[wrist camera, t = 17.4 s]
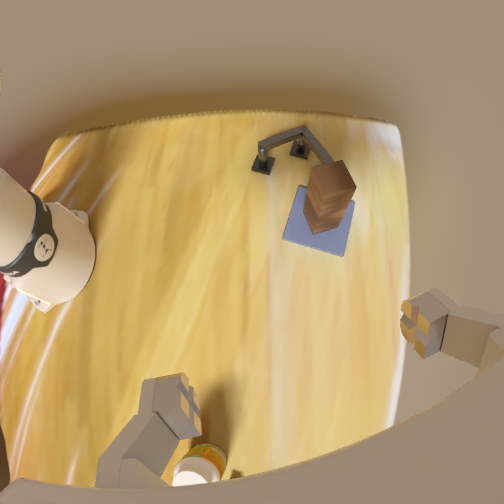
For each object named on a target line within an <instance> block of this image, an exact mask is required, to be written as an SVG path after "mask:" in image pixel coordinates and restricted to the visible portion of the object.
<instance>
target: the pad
mask: <svg viewBox="0 0 504 504" xmlns="http://www.w3.org/2000/svg"><path fill="white" fill-rule="evenodd" d="M306 194H307V188H304V187H300V186H299V187H298V190H297V194H296V197H295V200H294V203H293V206H292V210H291V213H290V216H289V219H288V222H287V225H286V229H285V232H284V235H283V239H284V240H287V241H290V242H294V243H297V244H301V245H304V246H307V247H311V248H314V249H317V250H321V251H324V252H328V253H331V254H334V255H337V256H341V257H343V256H344V252H345V248H346V243H347V239H348V234H349V229H350V225H351V220H352V215H353V210H354V205H355V202H351V201H350V203H349V205H348V207H347V209H346V211H345V214H344V216H343V218H342V220H341V222H340V224H339V226H338V228H335V229H331V230H328V231H325V232H321V233H318V234H314V235H312V232H311V230H310V227H309V225H308V222H307V220H306V217H305V215H304V213H303V208H304V204H305V199H306Z"/></svg>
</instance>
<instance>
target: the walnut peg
mask: <svg viewBox="0 0 504 504" xmlns="http://www.w3.org/2000/svg"><path fill="white" fill-rule="evenodd" d="M356 188H357V187H356V185H355V183H354V181H353V179H352V177H351V175H350V173H349V172H348V170H347V168H346V166H345V164H344V162H343V161H342V160H340V161H336V162H331V163H327V164H322V165H318V166H314V167H312V169H311V174H310V179H309V184H308V189H307V194H306V199H305V204H304V208H303V213H304V215H305V217H306V220H307V222H308V225H309V227H310V230H311V232H312V235H314V234H318V233H321V232H325V231H328V230H331V229H335V228H338V226H339V224H340V222H341V220H342V218H343V216H344V214H345V211H346V209H347V207H348V205H349V203H350V201H351V199H352V196H353V194H354V192H355V190H356Z"/></svg>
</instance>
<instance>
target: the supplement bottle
mask: <svg viewBox="0 0 504 504" xmlns="http://www.w3.org/2000/svg"><path fill="white" fill-rule="evenodd" d="M226 466H227V459H226V456H225V454H224V453H223V452H222V450H221V449H219V448H218V447H216V446H214V445H211V444H199V445H196V446H194V447H193V448H192V449H190V451H189V452H188V453H187V454H186V455H185V456H184V457H183V458H182V459H181V460H180V461H179V462H178V463H177V465H176V466H175V468H174V478H173V487H174V486H185V485H194V484H202V483H209V482H216V481H221V478H222V476H223V474H224V471H225V469H226Z"/></svg>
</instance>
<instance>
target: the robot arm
mask: <svg viewBox="0 0 504 504" xmlns="http://www.w3.org/2000/svg"><path fill="white" fill-rule="evenodd" d="M0 93H1V71H0ZM94 261H95V244H94V240H93V237H92V235H91V233H90V230H89V219H88V214H87V213H85V212H84V211H78V210H68V209H67V208H65V207H64V206H63V205H61V204H60V203H59V202H55V203H53V202H47V203H45V202H44V201H43V200H42V199H41V198H40V197H39V196H37V195H36V194H34V193H32V192H31V191H26V190H25V189H24V188H22V187H21V186H20V185H19V184H18V183H17V182H16V181H15V180H14V179H12V177H10V176H9V175H8V174H7V173H6V172H5V171H4V170H3V169H2V168H0V272H1V273H3V274H5V275H4V279H5V280H6V281H7V282H9V283H10V284H11V285H12V287H14V288H15V289H17V290H18V291H20V292H22V293H24V294H25V295H26V296H27V297H28V298H29V299H30V300H31V302H32V303H33V304H34V305H35V306H36V307H37V308H38V310H40V311H41V312H43V313H46V312H48V311H49V310H51V309H52V308H53V307H54V306H55V305H57V304H59V303H63V302H66V301H68V300H70V299H72V298H73V297H75V296H76V295H77V294H78V293H79V292H80V291H81V290H82V289H83V287H84V286H85V284H86V283H87V281H88V279H89V277H90V275H91V272H92V270H93V266H94ZM40 301H41V302H40ZM401 311H402V312H403V313H404V314H403V316H402V318H401V319H400V327H401V331H402V334H403V336H404V337H405V339H406V340H407V341H408V342H411V343H414V349H415V350H416V352H417V353H418V354H419V355H420V356H421V357H422V359H425V358H427V357H429V356H431V355H433V354H435V353H437V352H438V351H440V350H441V351H440V352H443V353H445V354H448V355H450V356H452V357H454V358H457V359H459V360H461V361H464V362H466V363H468V364H471V365H473V366H475V367H478V369H477V371H476V374H475V376H474V379H472V380H471V381H469V382H468V383H467V384H465V385H463V386H462V387H461V388H459V389H457V390H456V391H454V392H453V393H451V394H450V395H448V396H446V397H445V398H443V399H441V400H440V401H438V402H437V403H435V404H433V405H431V406H430V407H428V408H426V409H424V410H422V411H421V412H419V413H417V414H415V415H413V416H411V417H410V418H408V419H406V420H404V421H402V422H400V423H398V424H396V425H394V426H392V427H390V428H388V429H385V430H383V431H381V432H379V433H377V434H374V435H372V436H370V437H368V438H365V439H363V440H361V441H358V442H356V443H353V444H351V445H348V446H346V447H343V448H341V449H338V450H335V451H333V452H330V453H327V454H324V455H321V456H318V457H315V458H312V459H309V460H306V461H303V462H299V463H296V464H293V465H289V466H286V467H282V468H278V469H274V470H270V471H266V472H262V473H258V474H253V475H249V476H244V477H239V478H234V479H228V480H222V481H216V482H209V483H202V484H194V485H185V486H174V487H171V486H170V485H168V484H167V483H166V482H164V481H163V480H162V479H161V478H160V477H161V475H162V473H163V471H164V470H165V468H166V466H167V464H168V462H169V460H170V459H171V457H172V455H173V453H174V451H175V449H176V448H177V446H178V444H179V442H180V441H179V440H182V439H188V438H193V437H198V436H202V431H201V420H200V419H199V417H198V416H197V415H198V414H199V412H200V404H199V400H198V396H197V394H196V391H195V390H194V388H193V387H191V386H189V381H188V378H187V376H186V375H185V373H178V374H173V375H168V376H162V377H157V378H153V379H146V380H144V381H143V383H142V388H141V395H140V402H139V410H138V415H134V416H133V418H132V419H131V420H130V421H129V422H128V424H127V425H126V426H125V427H124V429H123V430H122V431H121V432H120V433H119V435H118V436H117V437H116V438H115V440H114V441H113V442H112V443H111V444H110V446H109V447H108V448H107V449H106V450H105V452H104V453H103V454H102V455H101V456H100V458H99V461H98V467H97V474H96V481H95V487H83V486H73V485H64V484H56V483H50V482H43V481H38V480H32V479H28V478H17V479H15V480H14V481H13V482H11V483H10V484H9V485H8V486H7V487H6V488H5V489H4V490H3V491H2V492H1V493H0V504H504V315H502V314H497V313H493V312H489V311H484V310H480V309H475V308H471V307H467V306H462V307H460V306H459V305H457V304H456V303H455V302H454V301H453V300H451V299H450V298H449V297H448V296H446V295H445V294H444V293H443V292H442V291H440V290H439V289H438V288H436V287H433V288H430V289H428V290H426V291H424V292H423V293H420V294H418V295H416V296H414V297H411V298H409V299H407V300H405V301H403V303H402V305H401Z"/></svg>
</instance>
